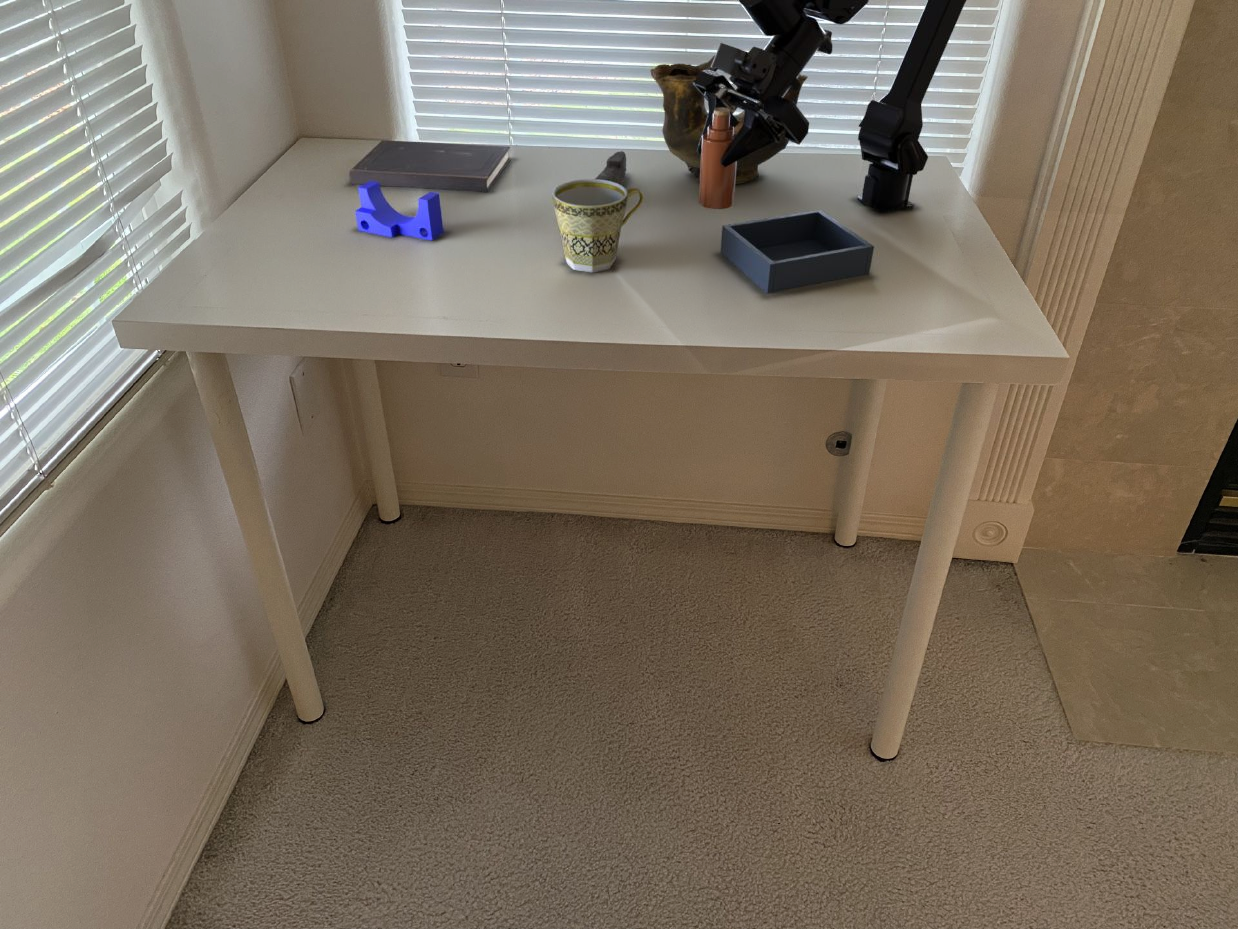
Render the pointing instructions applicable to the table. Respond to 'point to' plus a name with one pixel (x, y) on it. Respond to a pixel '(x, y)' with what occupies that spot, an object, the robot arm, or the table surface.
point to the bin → (796, 250)
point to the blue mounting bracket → (398, 215)
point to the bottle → (717, 163)
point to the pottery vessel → (703, 119)
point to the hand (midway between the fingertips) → (710, 159)
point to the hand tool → (614, 169)
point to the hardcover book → (432, 165)
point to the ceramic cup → (591, 221)
